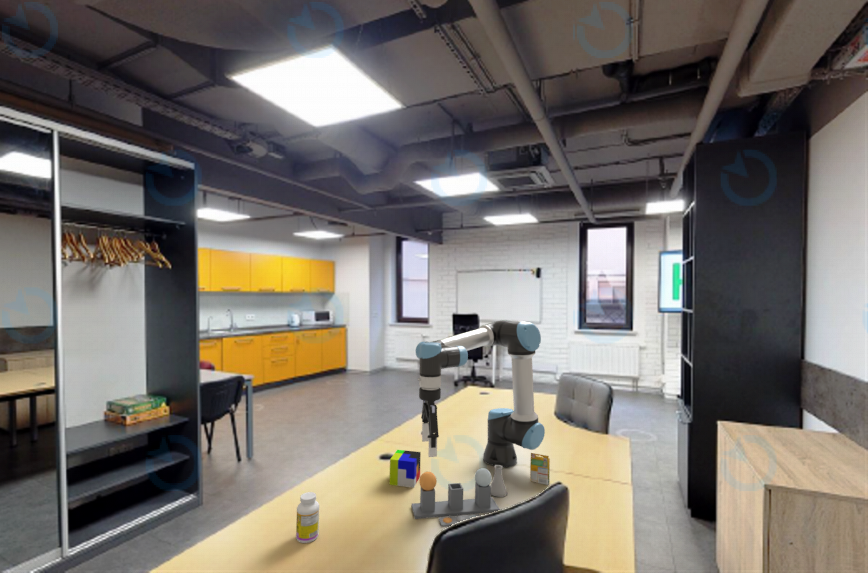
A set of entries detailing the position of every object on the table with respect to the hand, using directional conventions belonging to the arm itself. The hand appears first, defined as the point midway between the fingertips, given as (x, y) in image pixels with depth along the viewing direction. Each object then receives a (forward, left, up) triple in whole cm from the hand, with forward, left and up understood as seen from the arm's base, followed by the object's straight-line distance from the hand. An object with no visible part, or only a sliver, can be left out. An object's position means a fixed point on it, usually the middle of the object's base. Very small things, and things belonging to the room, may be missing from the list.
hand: (429, 448), depth 140 cm
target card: (-10, +8, -22) cm, 25 cm away
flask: (-29, -9, -22) cm, 37 cm away
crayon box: (-49, -15, -22) cm, 56 cm away
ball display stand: (-10, 0, -22) cm, 24 cm away
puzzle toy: (+5, -24, -22) cm, 33 cm away
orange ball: (0, 0, -11) cm, 11 cm away
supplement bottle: (+39, +9, -22) cm, 46 cm away
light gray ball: (-20, 0, -11) cm, 23 cm away
